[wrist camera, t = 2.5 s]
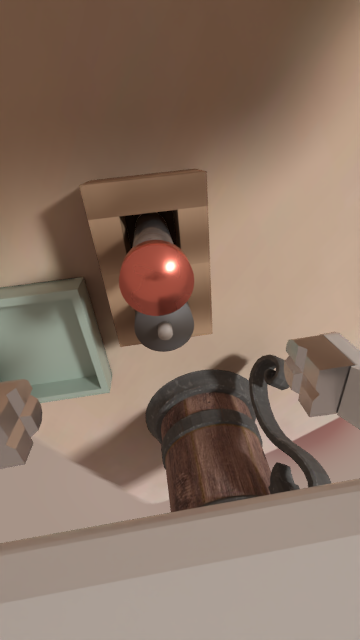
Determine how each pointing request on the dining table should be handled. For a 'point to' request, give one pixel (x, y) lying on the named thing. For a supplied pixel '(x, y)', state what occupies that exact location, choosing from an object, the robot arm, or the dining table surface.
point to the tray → (52, 340)
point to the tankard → (224, 437)
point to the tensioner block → (113, 245)
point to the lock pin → (155, 269)
